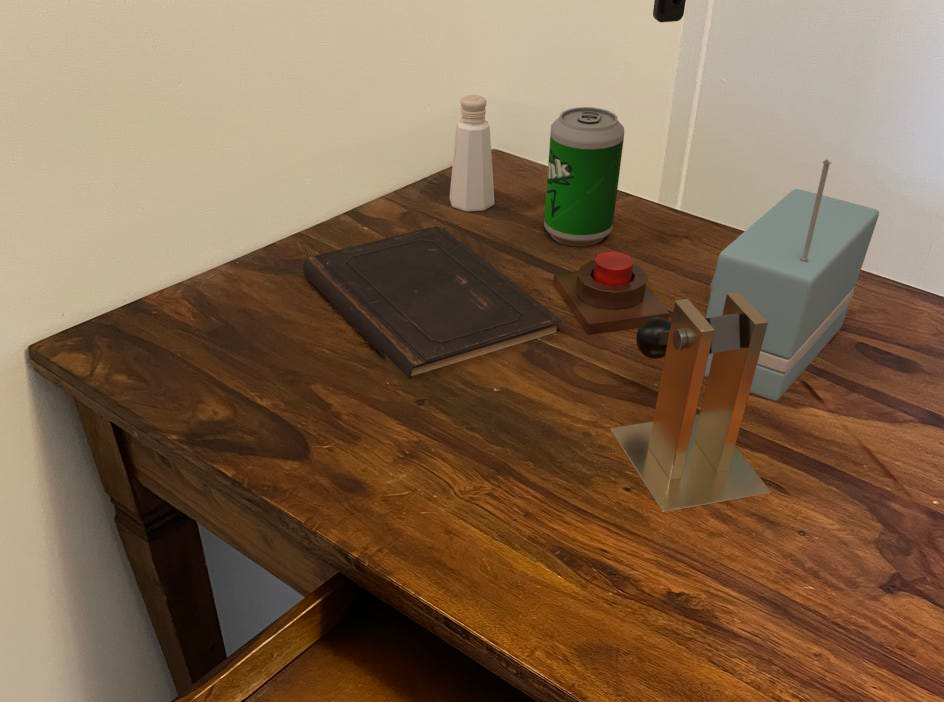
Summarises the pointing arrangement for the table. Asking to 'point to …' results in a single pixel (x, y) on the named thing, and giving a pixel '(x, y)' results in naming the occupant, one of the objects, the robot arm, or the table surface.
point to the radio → (795, 279)
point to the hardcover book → (427, 299)
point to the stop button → (613, 268)
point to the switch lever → (657, 332)
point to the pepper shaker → (472, 158)
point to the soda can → (583, 175)
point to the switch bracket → (706, 434)
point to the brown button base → (608, 300)
